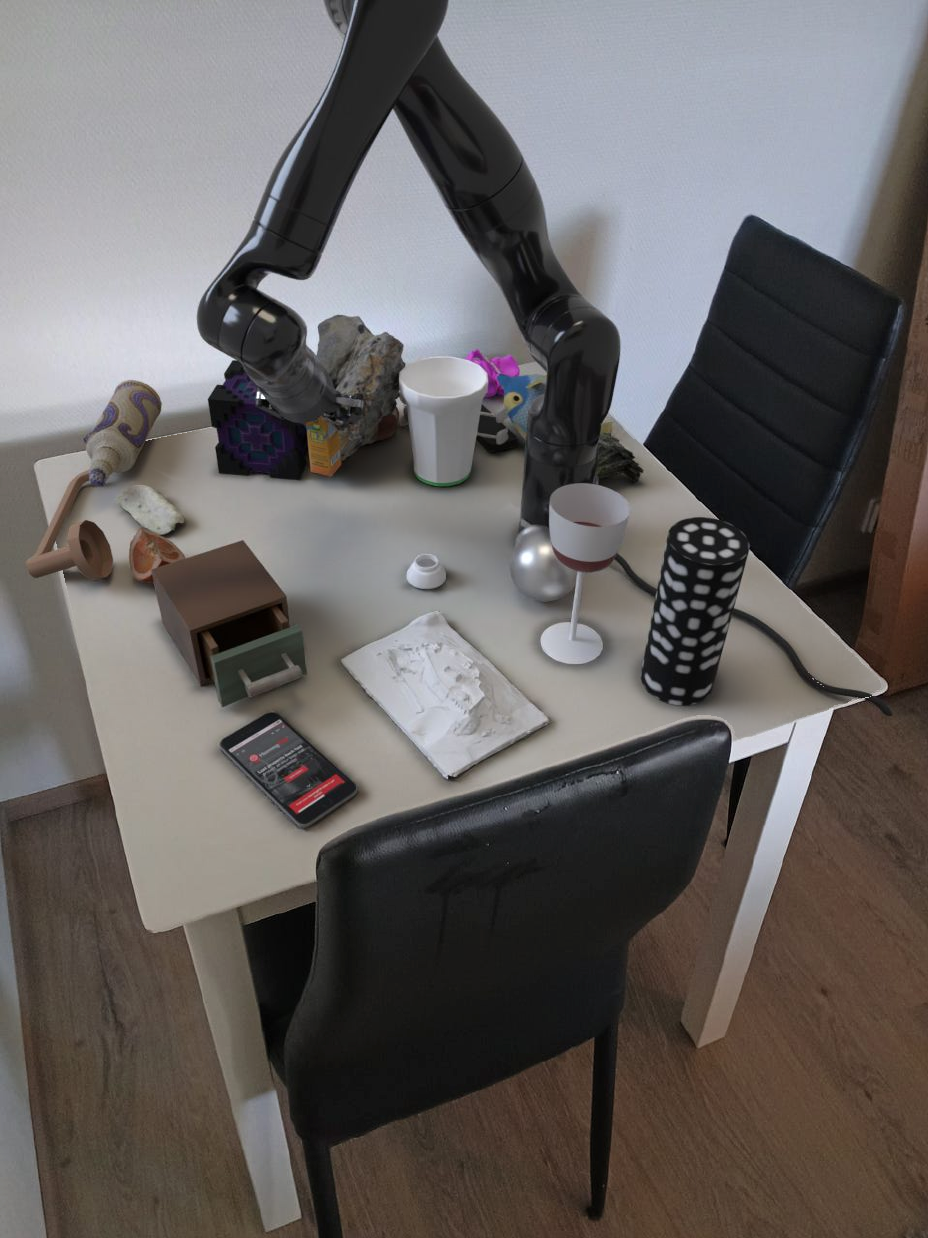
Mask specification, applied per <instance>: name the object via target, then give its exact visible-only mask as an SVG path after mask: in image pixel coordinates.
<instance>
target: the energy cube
mask: <svg viewBox="0 0 928 1238" xmlns="http://www.w3.org/2000/svg"><path fill="white" fill-rule="evenodd" d="M223 377H224V382H223V384H216V385H215V387H214V388H213V389H212V391H211V393H210V395H209V396H208V398H207V404H208V411H209V419H210V423H211V427H212V428H215V429H216V432H217V439H218V442H217V443H216V445H215V447H214V450H215V456H216V462H217V463H216V464H217V470H218V474H222V475H223V474H225V475H235V476H237V475H238V476H246V477H247V476H249V475H250V474H251V473H252V472H255V473H266V474H268V475H269V477H270V478H272V479H281V480H292V481H293V480H295V481H300V480H301V478H302V476H303V473H304V471H305V469H306V466H307V465H308V462H307V459H306V456H307V454H308V453H309V448H308V437H307V428H306V427H305V426H304V425H303V424H301V423H296V422H292V421H289V420H287V419H280V418H278V417H276V416H274V415H272V414H270V413H268V412H266V411H264V410H262V409H260V408H258V407H256V406H255V401H256V392H257V386H256V384H255V383H254V382H253V381H252V380H251V379H250V378H249V376H248V375H247V373H246V372H245V370H244V368H243V365H242V363H240V362H239V361H237V360H235V359H232V360H231V362H230V363H229V365H228V366H227V368H226V369H225V370H224V373H223Z"/></svg>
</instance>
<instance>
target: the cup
mask: <svg viewBox="0 0 928 1238" xmlns="http://www.w3.org/2000/svg"><path fill="white" fill-rule="evenodd" d="M399 392H400V393H401V394H402V395H403V396H404V398H405V400H406V405H405V406H406V407H407V414H408V422H409V424H408V428H409V436H410V443H411V450H412V451H411V452H412V459H413V473H414V475H415V477H416V478H417V480H419V481H421V482H422V483H425V484H426V485H430V486H434V487H451V486H455V485H460V484H462V483H463V482H464V481H466V480H467V479H468V478H469V477H470V475H471V471H472V466H473V459H474V453H475V447H476V441H477V439H476V436H477V430H478V424H479V417H480V411H481V405H482V404H483V399H484V398H485V395H486V394H487V392H488V374H487V373H486V372H485V370H484V369H483V368H482V367H481V366H480V365H478V364H476V363H473V362H471V361H469V360H466V358H461V357H455V356H446V355H445V356H443V355H441V356H440V355H439V356H429V357H423V358H418V359H416V360H414V361H412V362H409V363H406V364H405V367H404V368H403V369H402V370H401V371H400V372H399Z"/></svg>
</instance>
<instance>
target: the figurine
mask: <svg viewBox="0 0 928 1238" xmlns="http://www.w3.org/2000/svg"><path fill="white" fill-rule="evenodd" d="M399 394H400V396H399V397H398V398H399V400H400V402H401V403H402V404H403V405H402V406H403V410H402V413H403V414H402V416H401V417H400V422H399V425H400V427H405V426H407V425H409V422H408V414H407V407H406V400H405V398H404V396H403V395H402V394H401V393H400V391H399ZM507 411H508V407H507V406H506V407H504V406H503V407H501V408H499V409H497V411H496V413H493V412H491V413H486V412H480V415H484V416H490V417H496V422H497V423H501V422H502V423H503V422H504V421H506V420H507V419H508V418H509V416H508V413H507ZM508 429H509V427H507V428H506V429H503V430H501V431H499V432H498V433H497V436H495V435H489V434H483V433H478V430H477V436H481V437H486V438H492V439H496V443H497V444H502V443H504V442H505V441H506V440H507V439H508V434H507V433H508Z"/></svg>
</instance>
